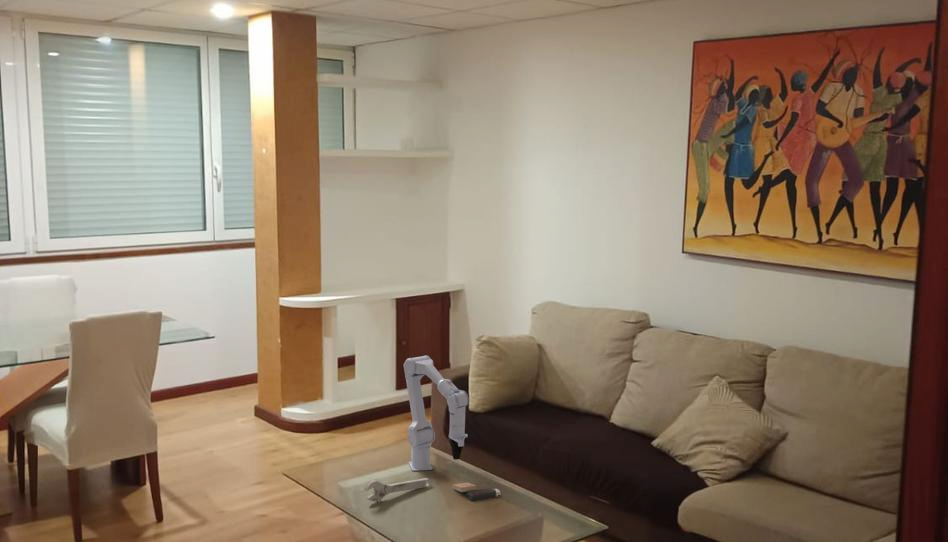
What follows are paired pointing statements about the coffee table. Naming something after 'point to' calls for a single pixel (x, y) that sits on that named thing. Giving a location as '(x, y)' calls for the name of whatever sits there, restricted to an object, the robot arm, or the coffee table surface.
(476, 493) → the usb drive
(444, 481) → the coffee table surface
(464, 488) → the tile
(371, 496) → the wrench
